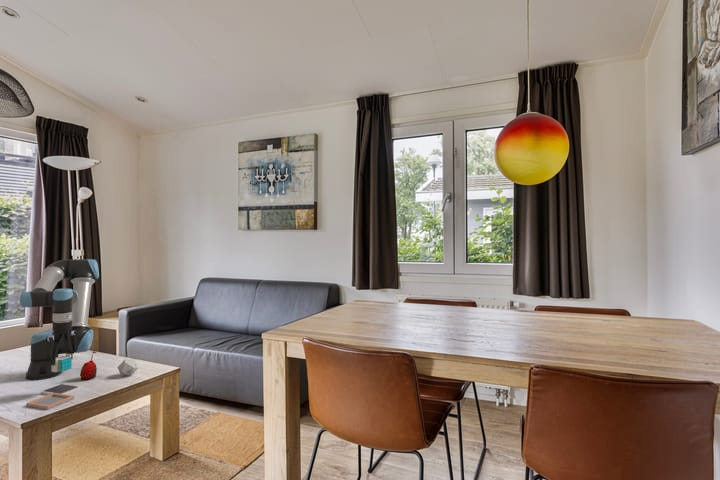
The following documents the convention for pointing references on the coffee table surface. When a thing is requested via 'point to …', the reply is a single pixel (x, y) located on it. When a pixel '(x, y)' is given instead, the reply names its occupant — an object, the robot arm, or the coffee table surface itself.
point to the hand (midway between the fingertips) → (61, 369)
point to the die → (127, 367)
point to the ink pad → (61, 389)
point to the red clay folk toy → (88, 370)
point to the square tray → (50, 401)
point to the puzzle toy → (64, 363)
